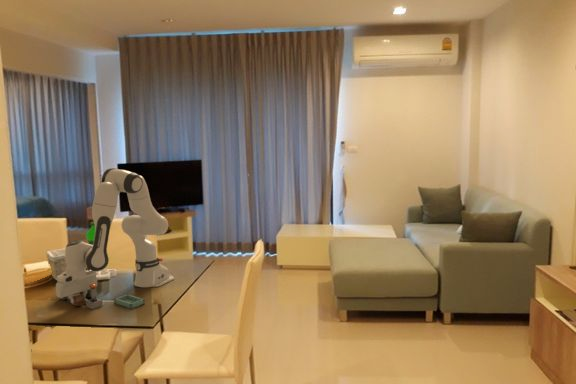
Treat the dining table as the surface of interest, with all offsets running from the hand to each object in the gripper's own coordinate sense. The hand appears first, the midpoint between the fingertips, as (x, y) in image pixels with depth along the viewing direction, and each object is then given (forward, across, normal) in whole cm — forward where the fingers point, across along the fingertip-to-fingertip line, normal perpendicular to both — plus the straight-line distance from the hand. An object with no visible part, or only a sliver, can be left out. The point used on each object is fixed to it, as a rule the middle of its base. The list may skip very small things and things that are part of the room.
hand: (78, 301), depth 236 cm
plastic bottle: (+3, -53, -66) cm, 84 cm away
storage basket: (+3, -26, -50) cm, 57 cm away
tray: (+3, -16, +18) cm, 24 cm away
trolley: (+3, -5, -4) cm, 7 cm away
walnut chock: (+2, 0, 0) cm, 2 cm away
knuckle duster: (+3, -33, -32) cm, 46 cm away
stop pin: (+3, -4, +6) cm, 8 cm away
